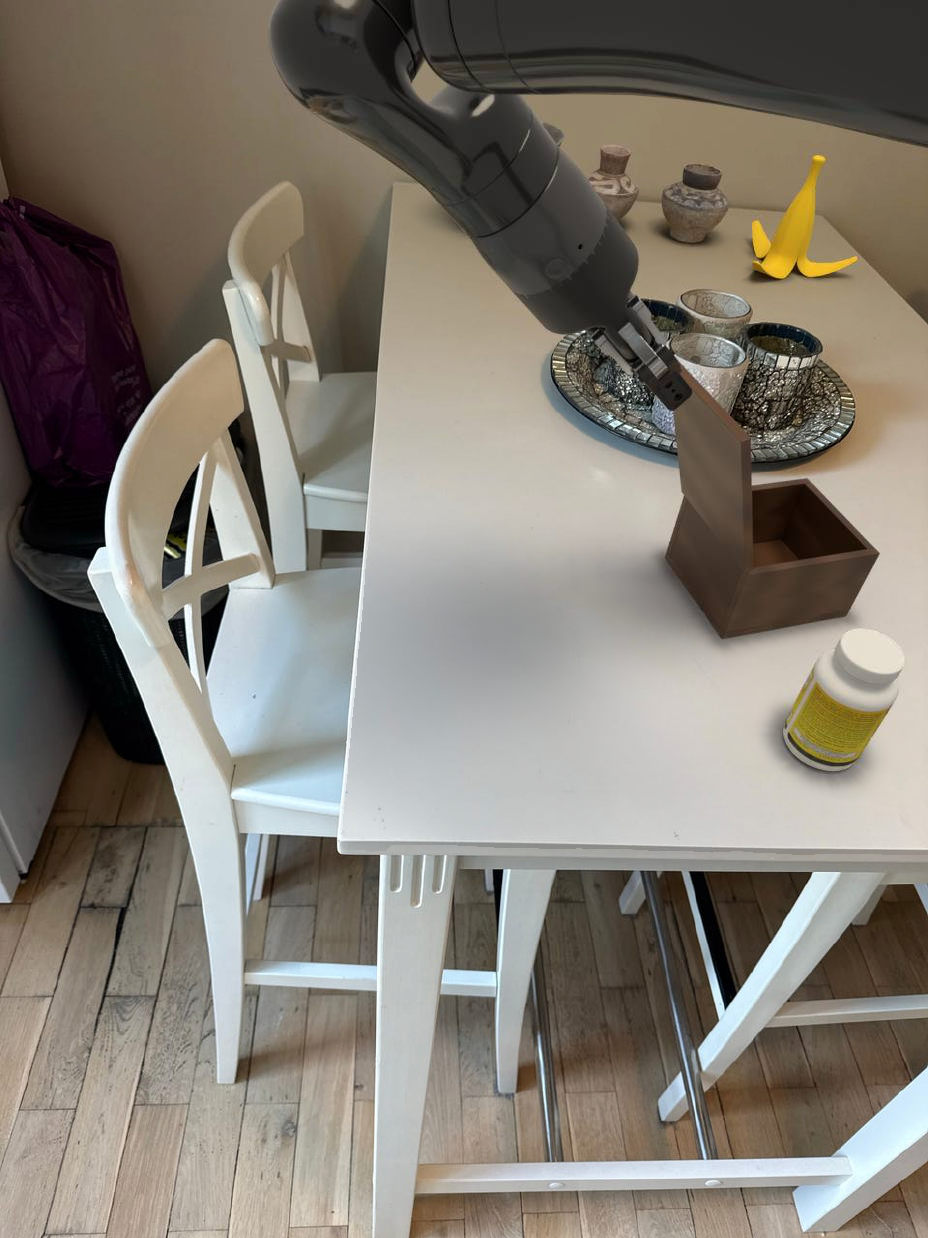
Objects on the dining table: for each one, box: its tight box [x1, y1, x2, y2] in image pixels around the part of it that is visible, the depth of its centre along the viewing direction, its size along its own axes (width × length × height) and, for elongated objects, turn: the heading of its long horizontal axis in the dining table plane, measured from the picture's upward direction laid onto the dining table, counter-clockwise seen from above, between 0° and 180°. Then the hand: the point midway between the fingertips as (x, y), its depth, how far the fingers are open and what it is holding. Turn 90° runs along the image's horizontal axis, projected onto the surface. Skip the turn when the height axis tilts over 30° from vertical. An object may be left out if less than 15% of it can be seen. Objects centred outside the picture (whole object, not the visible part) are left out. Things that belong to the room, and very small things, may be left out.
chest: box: [664, 477, 881, 640], centre depth 83 cm, size 14×12×8 cm
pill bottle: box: [782, 627, 906, 772], centre depth 68 cm, size 6×6×11 cm
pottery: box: [585, 144, 731, 244], centre depth 146 cm, size 11×25×12 cm, turn 83°
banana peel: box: [751, 154, 858, 280], centre depth 136 cm, size 16×19×17 cm
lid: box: [672, 360, 753, 573], centre depth 73 cm, size 14×12×1 cm
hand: (678, 397), depth 66 cm, fingers closed
